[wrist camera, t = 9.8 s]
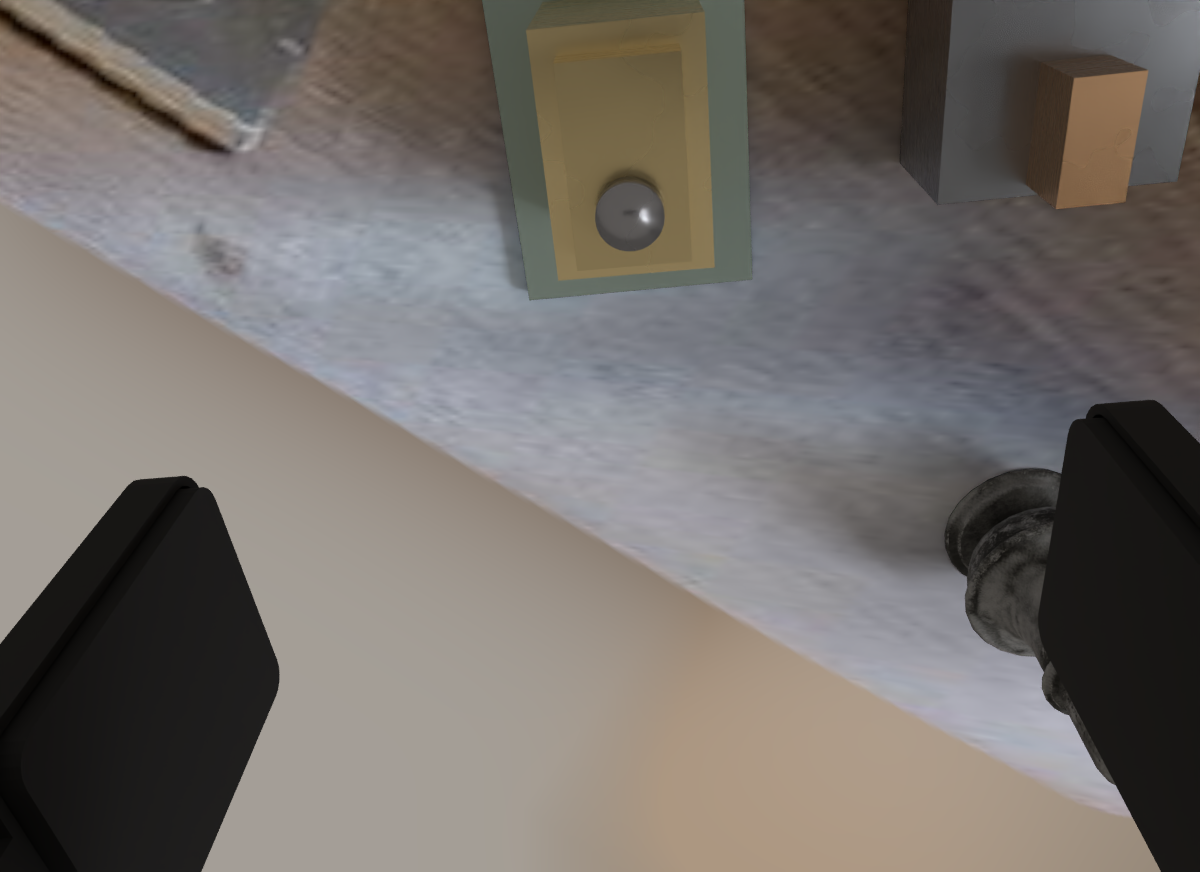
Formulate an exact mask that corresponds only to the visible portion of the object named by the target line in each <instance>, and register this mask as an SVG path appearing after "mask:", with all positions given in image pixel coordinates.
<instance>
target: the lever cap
mask: <svg viewBox="0 0 1200 872" xmlns="http://www.w3.org/2000/svg"><path fill="white" fill-rule="evenodd" d="M526 34H527V42H528V50H529V57H530V65H531V73H532V81H533V88H534V96H535V104H536V112H537V119H538V127H539V135H540V143H541V150H542V158H543V166H544V174H545V181H546V189H547V197H548V205H549V213H550V220H551V228H552V236H553V244H554V251H555V259H556V267H557V275H558V281H561V280H573V279H585V278H597V277H609V276H620V275H632V274H644V273H656V272H668V271H680V270H691V269H703V268H715V263H714V237H713V211H712V185H711V160H710V134H709V108H708V83H707V57H706V31H705V11H704V9H703V8H702V6H701V4H700V2H699V0H557V1H548V2H542V4H541V6H540V7H539V9H538V11H537V12H536V14H535V16H534V18H533V19H532V21H531V23H530V24H529V26H528V28H527V29H526Z"/></svg>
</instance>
